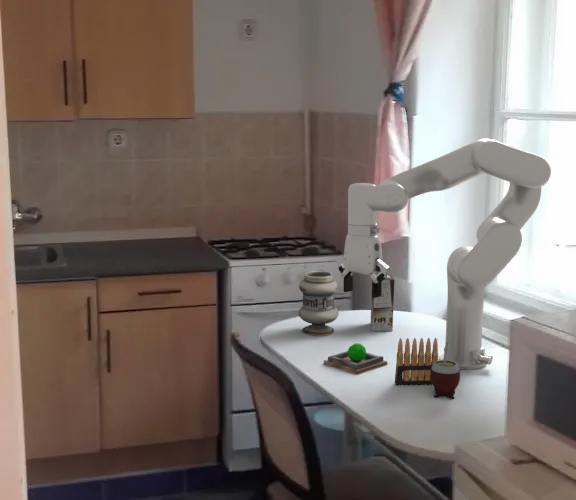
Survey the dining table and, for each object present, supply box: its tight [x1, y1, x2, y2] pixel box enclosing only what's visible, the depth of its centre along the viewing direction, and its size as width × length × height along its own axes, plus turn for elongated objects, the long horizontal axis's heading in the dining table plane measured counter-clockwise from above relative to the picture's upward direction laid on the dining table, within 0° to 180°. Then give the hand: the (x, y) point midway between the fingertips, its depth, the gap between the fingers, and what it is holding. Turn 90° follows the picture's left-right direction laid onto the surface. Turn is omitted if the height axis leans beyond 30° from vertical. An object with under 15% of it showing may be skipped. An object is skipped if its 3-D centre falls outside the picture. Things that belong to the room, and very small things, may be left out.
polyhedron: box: [347, 343, 367, 362], centre depth 228 cm, size 5×5×5 cm
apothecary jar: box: [298, 270, 340, 337], centre depth 258 cm, size 12×12×18 cm
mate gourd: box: [430, 341, 461, 400], centre depth 204 cm, size 8×8×15 cm
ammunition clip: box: [394, 337, 439, 387], centre depth 212 cm, size 11×2×12 cm, turn 94°
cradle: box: [323, 350, 388, 375], centre depth 228 cm, size 12×12×2 cm
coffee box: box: [370, 273, 395, 332], centre depth 264 cm, size 9×6×16 cm
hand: (362, 294), depth 227 cm, fingers open, 9 cm apart
